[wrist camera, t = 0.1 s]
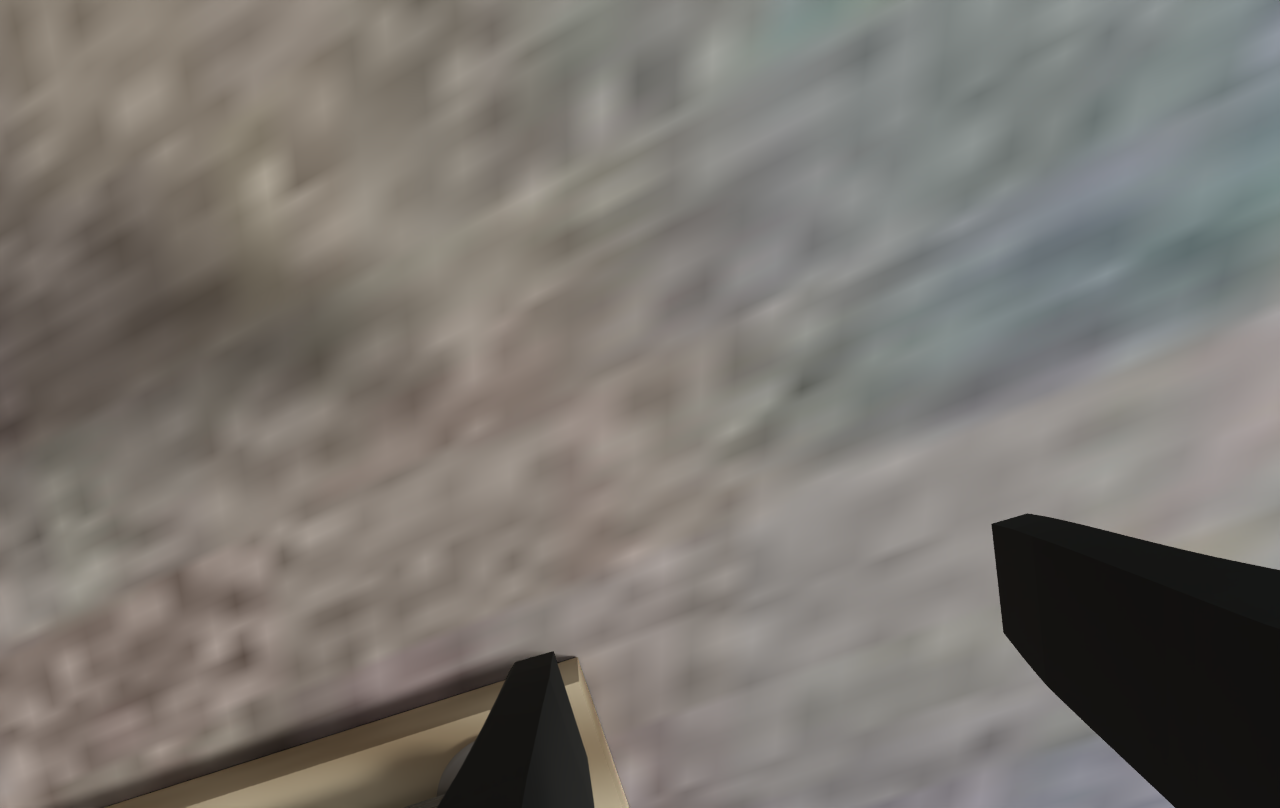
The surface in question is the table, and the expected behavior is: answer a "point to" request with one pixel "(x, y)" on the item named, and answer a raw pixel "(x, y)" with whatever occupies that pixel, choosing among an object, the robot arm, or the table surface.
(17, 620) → the table surface
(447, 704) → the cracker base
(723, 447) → the table surface
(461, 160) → the table surface
